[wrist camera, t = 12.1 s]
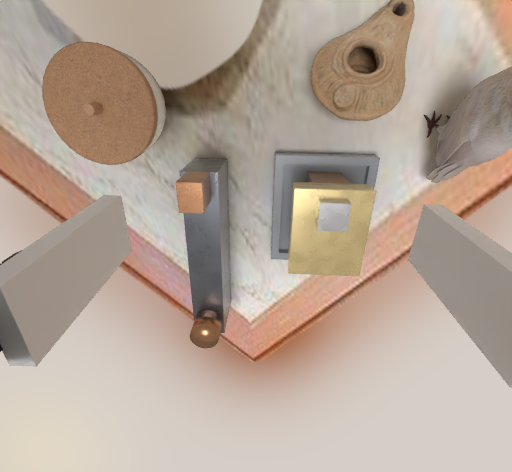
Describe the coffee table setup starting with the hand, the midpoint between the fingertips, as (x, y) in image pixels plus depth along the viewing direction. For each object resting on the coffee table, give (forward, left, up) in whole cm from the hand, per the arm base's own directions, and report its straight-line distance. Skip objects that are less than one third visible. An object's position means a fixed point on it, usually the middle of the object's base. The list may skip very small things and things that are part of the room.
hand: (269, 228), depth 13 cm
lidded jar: (-4, -17, -26) cm, 31 cm away
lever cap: (+8, +6, -19) cm, 22 cm away
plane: (+13, -8, -25) cm, 30 cm away
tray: (+8, +6, -25) cm, 27 cm away
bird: (-3, +19, -26) cm, 32 cm away
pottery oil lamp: (-9, +9, -26) cm, 29 cm away
